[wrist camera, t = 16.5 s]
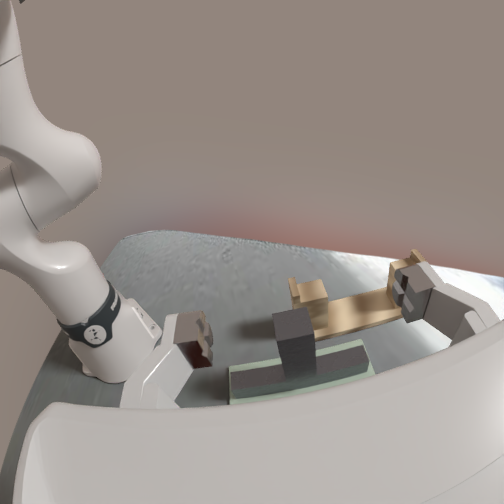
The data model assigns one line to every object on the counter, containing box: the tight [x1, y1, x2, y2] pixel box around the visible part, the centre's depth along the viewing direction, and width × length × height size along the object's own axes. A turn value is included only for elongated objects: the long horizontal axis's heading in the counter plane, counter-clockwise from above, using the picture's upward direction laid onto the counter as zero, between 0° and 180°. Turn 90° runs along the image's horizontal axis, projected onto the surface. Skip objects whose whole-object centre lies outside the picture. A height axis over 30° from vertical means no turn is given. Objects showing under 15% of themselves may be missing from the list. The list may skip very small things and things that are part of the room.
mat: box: [229, 339, 375, 405], centre depth 37 cm, size 21×9×1 cm, turn 94°
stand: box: [288, 249, 427, 342], centre depth 42 cm, size 24×7×10 cm, turn 94°
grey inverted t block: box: [230, 307, 370, 399], centre depth 33 cm, size 19×4×13 cm, turn 94°
